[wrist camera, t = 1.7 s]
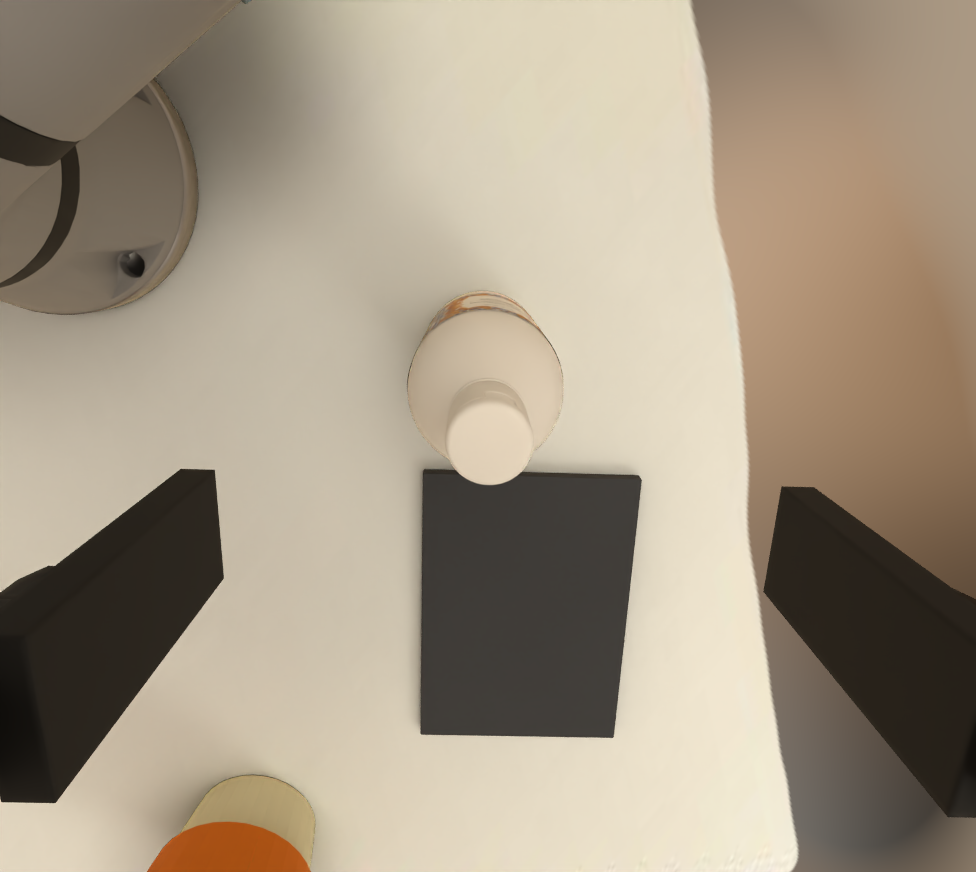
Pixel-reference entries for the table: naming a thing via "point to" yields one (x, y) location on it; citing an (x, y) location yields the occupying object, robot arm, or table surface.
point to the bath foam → (485, 386)
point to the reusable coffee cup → (244, 830)
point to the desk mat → (525, 602)
